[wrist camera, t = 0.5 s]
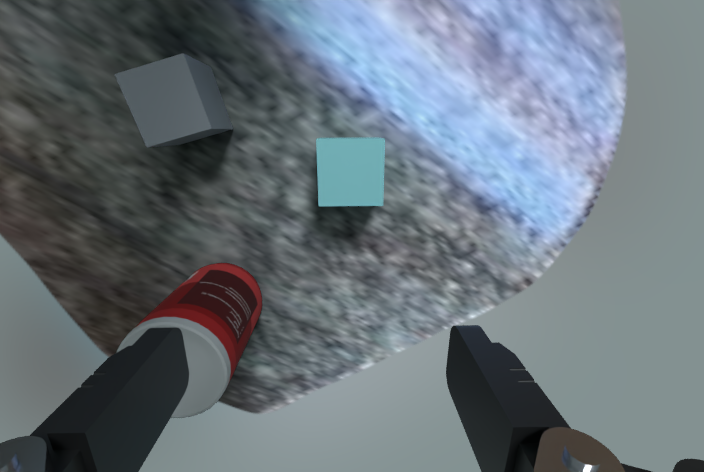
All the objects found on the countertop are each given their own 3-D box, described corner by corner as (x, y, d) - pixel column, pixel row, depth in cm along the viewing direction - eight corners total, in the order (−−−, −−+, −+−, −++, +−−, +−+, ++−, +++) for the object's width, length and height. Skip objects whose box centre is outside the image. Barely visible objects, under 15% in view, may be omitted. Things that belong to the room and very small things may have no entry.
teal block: (320, 137, 29) (316, 138, 24) (378, 137, 29) (384, 138, 24) (322, 194, 31) (318, 206, 26) (376, 194, 31) (383, 205, 26)
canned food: (189, 330, 34) (121, 417, 24) (183, 257, 32) (104, 318, 21) (264, 334, 35) (230, 421, 24) (264, 261, 32) (225, 324, 22)
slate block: (154, 84, 28) (114, 74, 23) (211, 67, 27) (183, 53, 22) (179, 145, 29) (146, 147, 24) (233, 129, 29) (211, 128, 24)
